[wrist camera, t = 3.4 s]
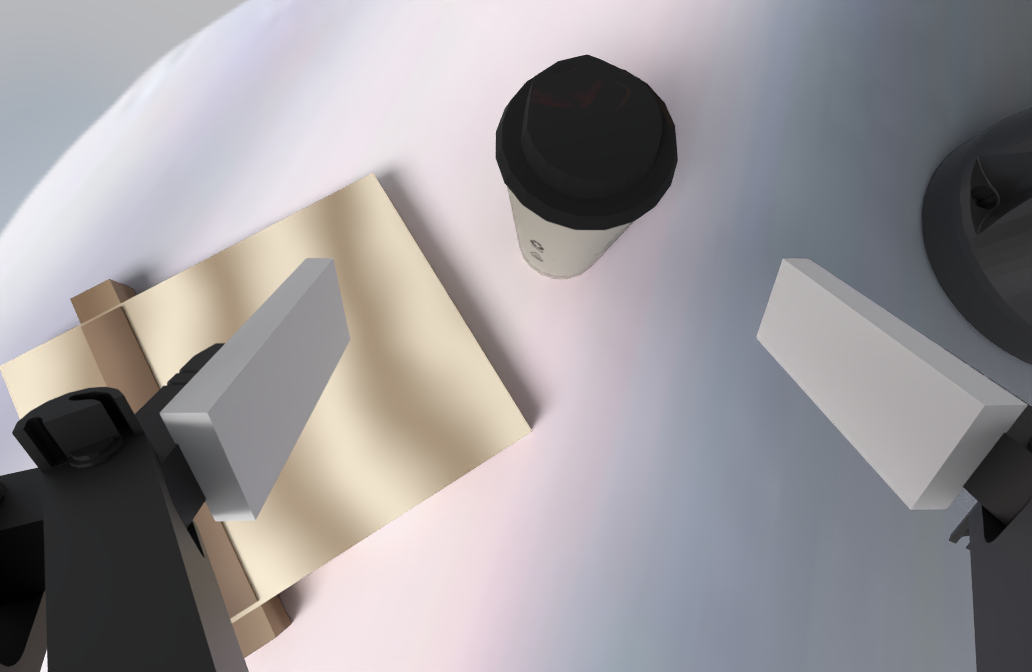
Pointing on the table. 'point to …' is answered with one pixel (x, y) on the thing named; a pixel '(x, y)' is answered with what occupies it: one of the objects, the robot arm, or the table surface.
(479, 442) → the subfloor panel
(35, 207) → the table surface
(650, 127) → the coffee cup
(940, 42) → the table surface
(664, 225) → the table surface
